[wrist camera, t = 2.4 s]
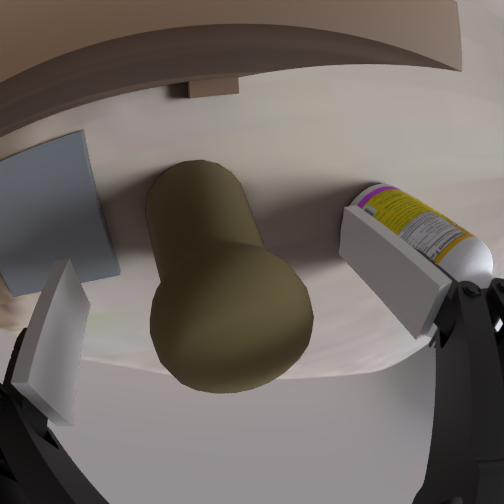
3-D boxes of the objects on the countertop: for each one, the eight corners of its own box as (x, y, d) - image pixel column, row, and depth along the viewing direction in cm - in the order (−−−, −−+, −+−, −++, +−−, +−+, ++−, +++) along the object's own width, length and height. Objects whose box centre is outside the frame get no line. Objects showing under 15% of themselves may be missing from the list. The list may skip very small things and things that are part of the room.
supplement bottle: (403, 233, 23) (508, 326, 12) (344, 270, 23) (443, 389, 12) (396, 167, 19) (538, 255, 9) (327, 203, 19) (470, 334, 8)
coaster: (-31, 176, 10) (-35, 179, 10) (83, 129, 12) (80, 131, 11) (16, 291, 15) (13, 296, 14) (120, 269, 17) (119, 275, 16)
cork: (263, 182, 17) (378, 302, 8) (220, 264, 19) (277, 414, 10) (168, 143, 14) (178, 246, 5) (132, 238, 16) (121, 407, 7)
